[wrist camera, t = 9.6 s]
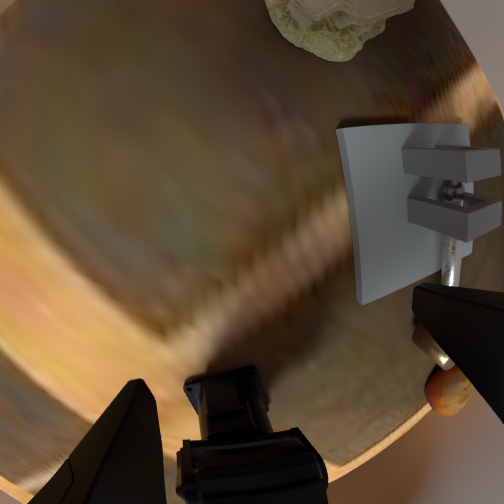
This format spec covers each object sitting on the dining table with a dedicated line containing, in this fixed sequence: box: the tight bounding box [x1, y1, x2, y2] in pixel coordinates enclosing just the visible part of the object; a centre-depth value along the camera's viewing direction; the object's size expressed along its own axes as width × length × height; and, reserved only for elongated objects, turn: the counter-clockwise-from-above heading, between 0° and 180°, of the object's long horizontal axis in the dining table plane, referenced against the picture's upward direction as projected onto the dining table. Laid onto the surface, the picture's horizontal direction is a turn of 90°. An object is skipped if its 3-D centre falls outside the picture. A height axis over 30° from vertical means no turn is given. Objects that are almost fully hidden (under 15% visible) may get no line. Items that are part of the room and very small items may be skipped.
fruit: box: [424, 365, 474, 416], centre depth 29 cm, size 8×8×8 cm
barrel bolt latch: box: [336, 123, 502, 305], centre depth 18 cm, size 14×16×8 cm
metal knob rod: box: [412, 179, 465, 370], centre depth 20 cm, size 18×4×5 cm, turn 13°
